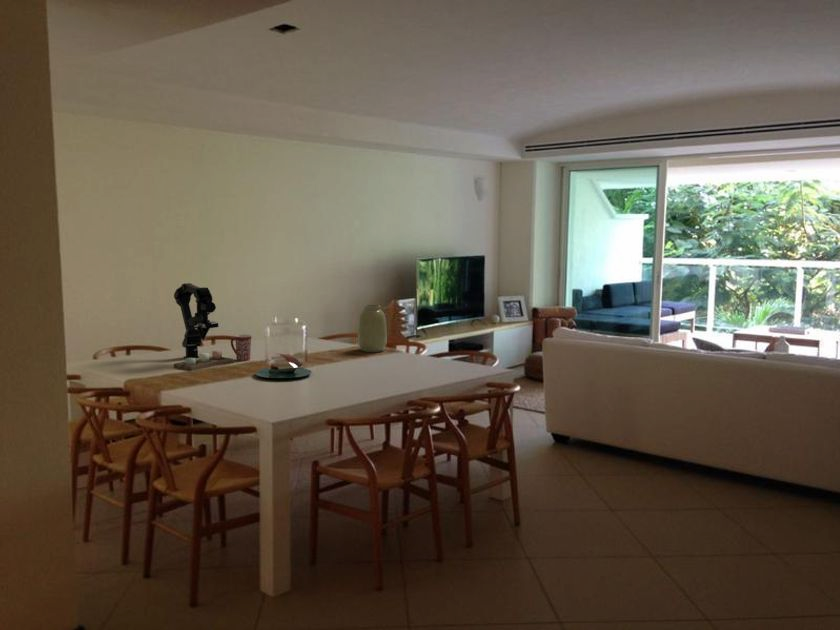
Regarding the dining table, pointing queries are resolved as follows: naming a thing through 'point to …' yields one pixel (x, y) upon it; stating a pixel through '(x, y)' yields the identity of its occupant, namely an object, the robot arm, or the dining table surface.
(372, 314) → the vase
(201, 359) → the button cream
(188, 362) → the button sage
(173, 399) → the dining table surface
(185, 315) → the robot arm
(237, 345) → the mug
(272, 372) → the dark teal dish
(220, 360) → the button board
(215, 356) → the button terracotta
